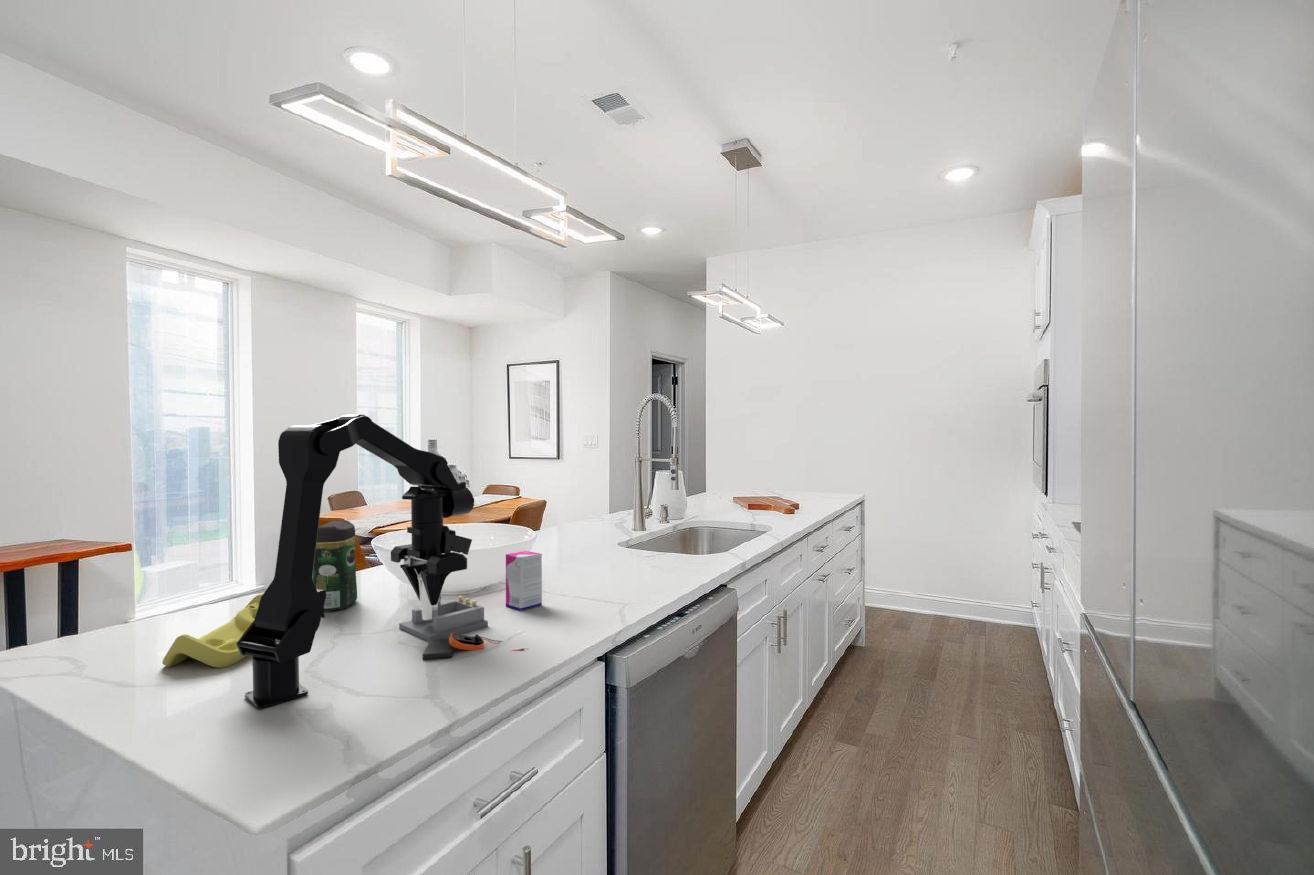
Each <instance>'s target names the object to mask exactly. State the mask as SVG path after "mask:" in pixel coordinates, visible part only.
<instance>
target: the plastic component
mask: <svg viewBox="0 0 1314 875" xmlns="http://www.w3.org/2000/svg"><path fill="white" fill-rule="evenodd" d="M263 594H264V593H260V594H257V595H256V596H254V597H253V598H252V599H251V600H250V601H249V603H247V604H246V606H245V607H244V608H242V609H241V610H239V611H238V612H237V613H236V615H235V617H233V618H232V619H231V620H230V621H229V622H227V623H225V624H223V625H221V626H220V627H217V628H216V629H214V630H212V631H210V632H208V633H207V634H205V635H203V636H201V637H200V638H195V637H194V636H191V635H189V634H186V633H185V634H181V635H179V636H177V637H176V638H175V639H174V642H173V643H172V644H171V646H170V647H169V649H168V650H167V653H166V654H165V656H164V657H163V659H162V662H161V663H162V665H163V666H165V667H168V668H169V667H170V668H171V667H173V666H177V665H178V664H180V663H182V662H184V661H185V660H187V659H188V658H192V659H194V660H197V661H199V662H201V663H203V664H205V665H208V666H210V667H212V668H219V669H222V668H227V667H230V666H232V665H235V664H236V663H238V662H240V661H241V660H242V659H244V658H246V657H247V655H241V654H240V651H239V649H238V647H237V642H238V641H239V639H240V638H241V637H242V635H243V634H244V633H245V631H246V630H247V629H248V628H249V626H250V625H251V624H252V622H253V621H254V620H255V617H256V613H257V610H258V606H259V603H260V600H261V597H262V595H263Z"/></svg>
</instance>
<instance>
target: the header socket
mask: <svg viewBox="0 0 1314 875" xmlns="http://www.w3.org/2000/svg"><path fill="white" fill-rule="evenodd" d="M470 601H471V600H470V598H469V597H467V598H465V600H464V596H463V595H459V596H458V598H455V599H451V600H448V601H447V600H446V601H443V602H442V601H441V605H440V616H437V617H433V620H422V617H421V607H415V608H413V609H411V620H408V621H402V622H399V624H398V625H399V627H398V629H399V630H402V631H404V632H406V633H409V634H410V635H413V636H415V637H417V638H420V639H422V640H424V641H426V642H428V643H429V641H430V640H437V639H449V637H450V635H451V633H453V634H460V635H463V634H466V633H469V632H472V631H476V630H479V629H484V628H485V627H488V626H489V621H488V620H486V619H485V606H482V605H480V604H477V600H472V602H470Z"/></svg>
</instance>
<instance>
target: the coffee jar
mask: <svg viewBox="0 0 1314 875" xmlns="http://www.w3.org/2000/svg"><path fill="white" fill-rule="evenodd" d="M355 527H356V526H355V524H354V523H352V522H350V521H349V520H332V521H330V522H327V523H325V524H324V523H323V524H322V525H319V526H318V534H317V542H316V551H315V559H314V567H313V575H312V578H313V582H314V584H315V587H316V589H320V590H325V591H326V599H325V603H324V613H325V612H333V611H337V610H345V609H346V608H348V607H350V606H351V605H352V604H354V603H355V602H356V601H357V599H358V586H357V573H356V572H357V568H356V567H357V566H356V529H355Z"/></svg>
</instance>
